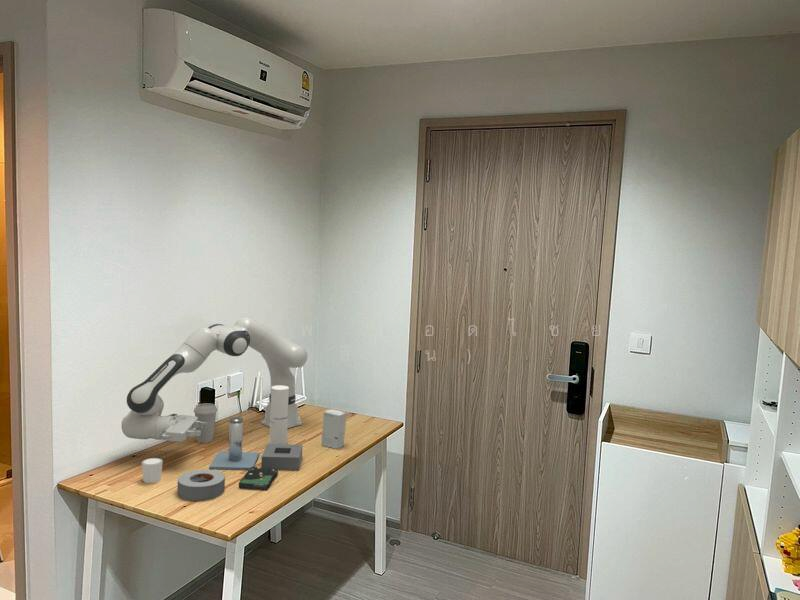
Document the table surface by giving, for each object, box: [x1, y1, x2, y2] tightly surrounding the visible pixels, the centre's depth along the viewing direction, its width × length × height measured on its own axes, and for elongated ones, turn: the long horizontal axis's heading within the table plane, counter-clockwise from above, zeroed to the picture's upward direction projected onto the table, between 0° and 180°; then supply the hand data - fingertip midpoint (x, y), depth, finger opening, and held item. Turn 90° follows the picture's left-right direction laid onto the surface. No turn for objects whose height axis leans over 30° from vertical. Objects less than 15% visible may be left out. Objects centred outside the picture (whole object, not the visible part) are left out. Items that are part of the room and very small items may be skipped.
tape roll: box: [176, 468, 226, 502], centre depth 203 cm, size 15×15×5 cm
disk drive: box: [238, 466, 279, 491], centre depth 214 cm, size 10×3×15 cm
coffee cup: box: [193, 402, 218, 444], centre depth 251 cm, size 10×10×15 cm
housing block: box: [260, 443, 303, 471], centre depth 232 cm, size 14×14×5 cm
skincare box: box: [320, 409, 348, 450], centre depth 254 cm, size 8×6×15 cm
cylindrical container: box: [268, 385, 289, 444], centre depth 249 cm, size 7×7×25 cm
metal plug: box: [228, 416, 244, 462], centre depth 230 cm, size 5×5×16 cm
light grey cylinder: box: [141, 457, 164, 484], centre depth 209 cm, size 7×7×7 cm
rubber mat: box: [208, 451, 260, 471], centre depth 231 cm, size 16×16×1 cm
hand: (204, 429), depth 228 cm, fingers open, 8 cm apart
